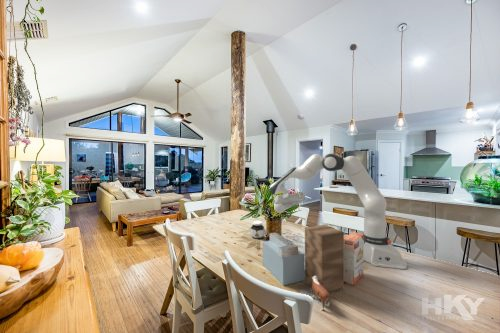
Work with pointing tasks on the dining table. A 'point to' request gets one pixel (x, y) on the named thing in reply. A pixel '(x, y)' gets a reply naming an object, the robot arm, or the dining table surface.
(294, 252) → the light gray box
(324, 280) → the stand
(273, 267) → the gray rectangular box
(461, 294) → the dining table surface
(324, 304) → the bull figurine
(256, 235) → the spread jar
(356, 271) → the cracker box
